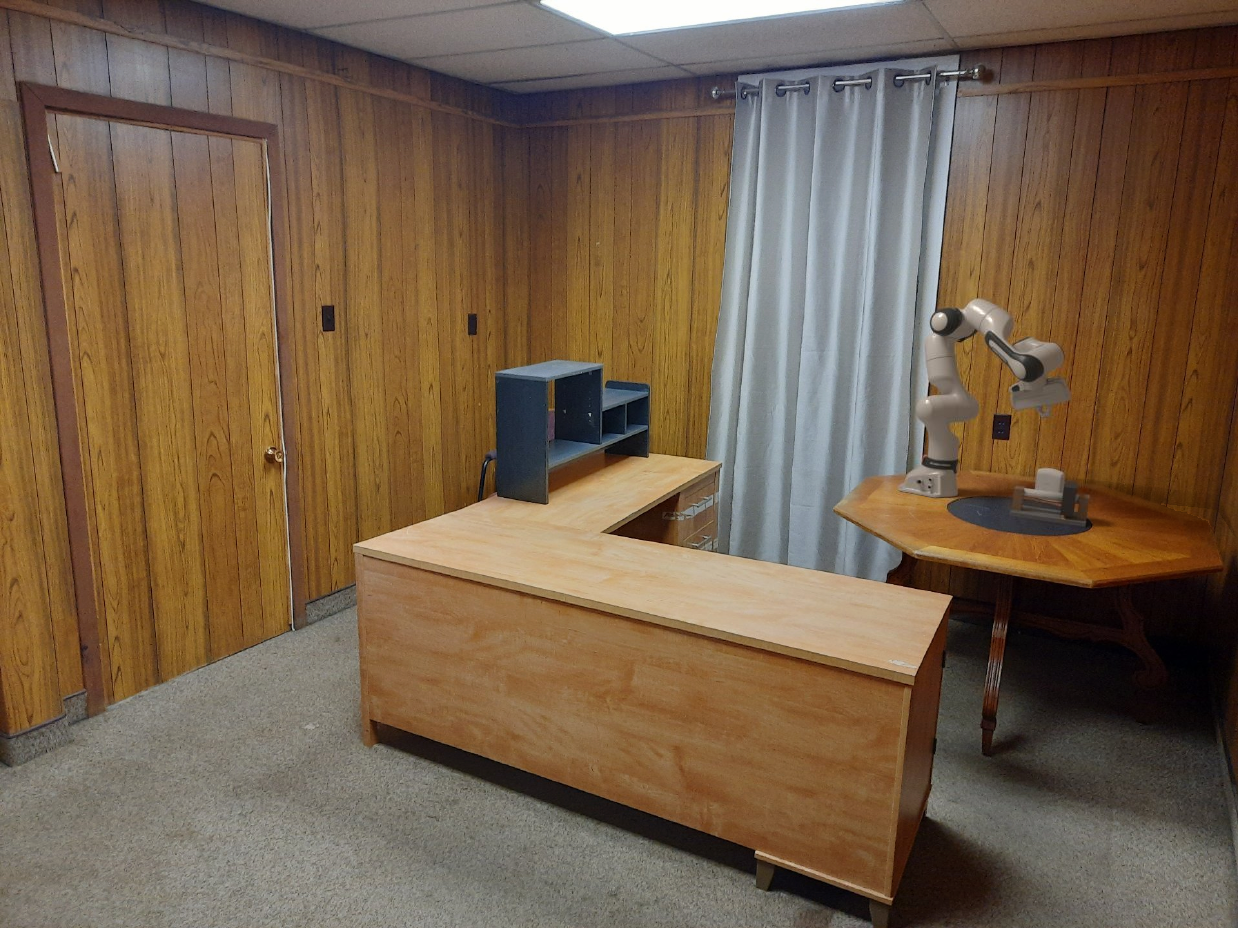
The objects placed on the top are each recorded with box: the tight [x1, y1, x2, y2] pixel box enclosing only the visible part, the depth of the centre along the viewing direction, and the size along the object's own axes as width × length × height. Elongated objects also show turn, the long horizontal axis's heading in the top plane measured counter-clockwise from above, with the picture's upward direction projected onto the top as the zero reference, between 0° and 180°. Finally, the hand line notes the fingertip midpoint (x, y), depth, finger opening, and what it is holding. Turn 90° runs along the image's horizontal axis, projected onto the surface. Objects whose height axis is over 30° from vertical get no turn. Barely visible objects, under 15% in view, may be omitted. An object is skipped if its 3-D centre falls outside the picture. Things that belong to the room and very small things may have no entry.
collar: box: [1059, 480, 1079, 516], centre depth 304 cm, size 4×10×10 cm, turn 150°
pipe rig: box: [1009, 485, 1091, 528], centre depth 307 cm, size 24×12×10 cm, turn 60°
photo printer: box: [1034, 467, 1066, 504], centre depth 330 cm, size 10×4×12 cm, turn 39°
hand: (1046, 416), depth 311 cm, fingers closed
